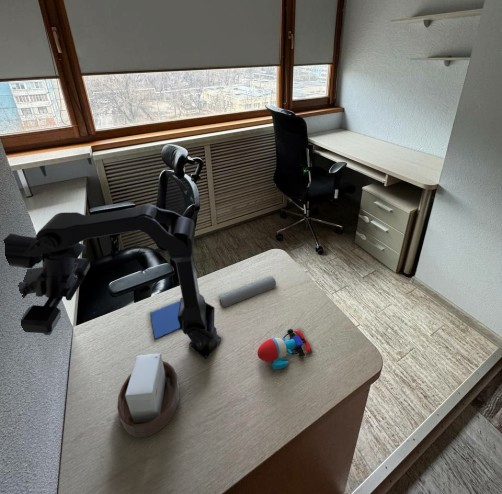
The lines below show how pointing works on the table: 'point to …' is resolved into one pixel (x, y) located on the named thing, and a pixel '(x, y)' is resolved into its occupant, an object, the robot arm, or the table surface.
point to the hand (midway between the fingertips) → (58, 316)
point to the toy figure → (282, 348)
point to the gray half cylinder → (247, 291)
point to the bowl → (166, 410)
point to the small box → (146, 388)
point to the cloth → (165, 320)
